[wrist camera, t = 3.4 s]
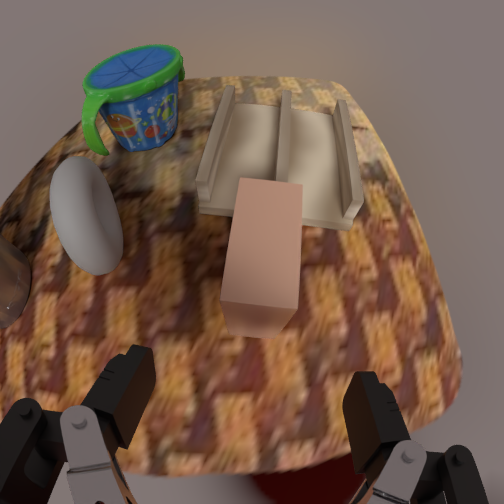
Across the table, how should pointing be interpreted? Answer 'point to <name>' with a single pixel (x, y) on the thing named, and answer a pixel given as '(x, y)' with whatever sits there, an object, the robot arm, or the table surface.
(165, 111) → the snack cup
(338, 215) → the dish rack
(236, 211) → the pink rectangular block
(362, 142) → the table surface
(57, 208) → the grey ring
